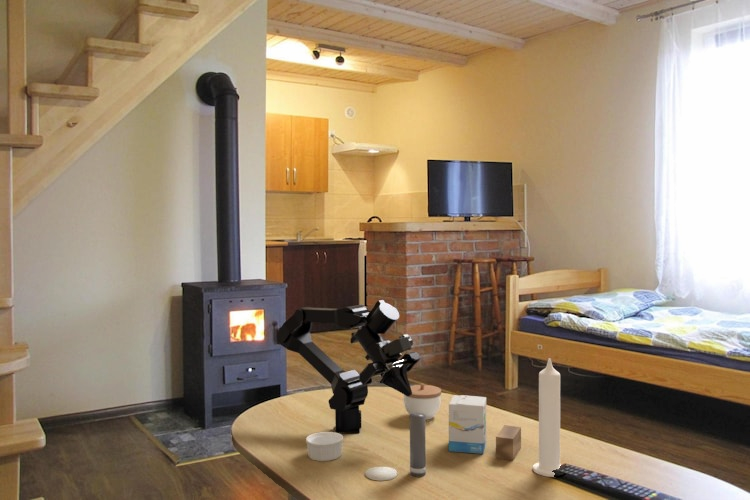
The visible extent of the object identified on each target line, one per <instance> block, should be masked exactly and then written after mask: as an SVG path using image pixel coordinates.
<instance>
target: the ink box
mask: <svg viewBox="0 0 750 500" xmlns="http://www.w3.org/2000/svg"><path fill="white" fill-rule="evenodd" d="M486 445H487V397H486V396H478V395H477V396H476V395H466V394H465V395H464V394H461V395H455V394H453V396H452V397H451V399H450V401H449V403H448V452H456V453H457V452H458V453H466V454H468V453H469V454H479V455H480V454H481V455H483V454H484V452H485V449H486Z"/></svg>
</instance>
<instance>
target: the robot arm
mask: <svg viewBox="0 0 750 500" xmlns="http://www.w3.org/2000/svg"><path fill="white" fill-rule="evenodd" d="M399 319H400V313H399V311H398V309H397V308H396V307H394V306H393V305H391V304H389V303H387V302H386V301H385V300H384V299H380V300H377V301H376V302H375V304H374V306H373V307H372V309H371V310H370V309H367V308H366V306H365V305H363V304H358V305H352V306H344V307H341V308H330V307H329V308H327V307H312V306H305V307H299V308H297V309H296V310H295V312H294V313H293V314H292V316H290V318H288V319H287V320H286V321H285V322H283V324H282V325H281V326H280V327H279V328H278V331H277V334H276V339H277V342H278V343H279V345H280V346H282V347H283V348H284V349H286V351H287V350H288V351H291V352H293V353H296V354H299V355H300V356H301V357H302V358H303V359H304V360H305V361H306V362H307V363H308V364H309V365H311V366H312V368H314V369H315V371H316V372H318V373H319V374H320V375H321V376H322V377H323V378H324V379H325V380H326V381H327V382H328V383H329V384H330V387H331V391H332V396H331V397H330V398H329V399H328V406H329V408H330V409H331V410H334V412H335V414H334V415H335V416H334V417H335V421H334V422H335V423H334V424H335V425H334V426H335V427H334V432H335V433H339V434H358V433H360V431H361V429H362V410H360V406H362V405H364V404H365V402H366V399H367V397H368V394H369V388H368V385H371V384H372V383H373V377H376V376H379V375H380V378H381V379H380V380H379V384H380V385H381V384H382V385H385V386H386V387H390V388H391V389H393V390H395V391H397V392H399V393H401V394H402V395H403V396H404V395H406V396H408V397H409V396H411V395H412V391H411V387H410V386H411V384H410V381H409V379H408V373H409V372H411V371H412V370H413V368H414V367H415V366H416V365H417V364H418V363H419V362H420V360H422V357H421V356H420V354H419V353H418V351H410V350H412V349H413V348H412V346H413V345H414V343H413V342H414V340H413V339H412V338H411V336H410V335H409V334H408V333H406V334H402V335H401V336H398V338H397V339H394V340H392V341H391V340H389V339H388V340H385V338H384V337H383V335H384V334H387V333H388V332H389V330H390V329H391V328H392V326H393V325H394V324H395V323H396V322H397V321H398V320H399ZM313 323H318V324H319V323H320V324H332V325H335V326H337V327H338V328H340V329H344V330H352V329H356V328H358V329H357V330H356V331H354V332H351V337H350V344H355V343H359V345H360V347H361V348H362V349H363V351H364V352H365V354H366V355H365V359H366V361H371V362H370V363H367V365H366V366H365V367H364V368H363V370H361V372H360V373H359V372H357V370H356V369H350V370H348V371H345V370H344V369H343V368H341V367H340V366H339V365H338V364H337V363H336V362H335V361H334V360H333V359H332V358H331V357H330V356H328V355H327V353H326V352H324V351H323V350H322V349H321V348H320V347H319V346H318V345H316V343H314V341H312V336H311V335H312V334H311V331H312V328H313ZM406 351H410V352H407V353H404V352H406ZM402 353H404V355H403V354H402ZM402 355H403V356H402Z"/></svg>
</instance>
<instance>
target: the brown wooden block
mask: <svg viewBox="0 0 750 500" xmlns="http://www.w3.org/2000/svg"><path fill="white" fill-rule="evenodd" d="M521 448H522V427H521V426H515V425H504V426H502V428H501V429H500V431H498V433H497V435H495V459H502V460H507V461H514V460H515V458H516V457H517V455H518V453H519V452H520V450H521Z"/></svg>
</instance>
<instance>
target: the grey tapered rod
mask: <svg viewBox="0 0 750 500" xmlns="http://www.w3.org/2000/svg"><path fill="white" fill-rule="evenodd" d="M426 452H427V451H426V420H425V414H424V413H411V414H409V474H410V475H411V476H412V477H418V478H420V477H423V476H425V475H426V473H427V472H426V471H427V465H426V459H427V458H426V455H427V454H426Z"/></svg>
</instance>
